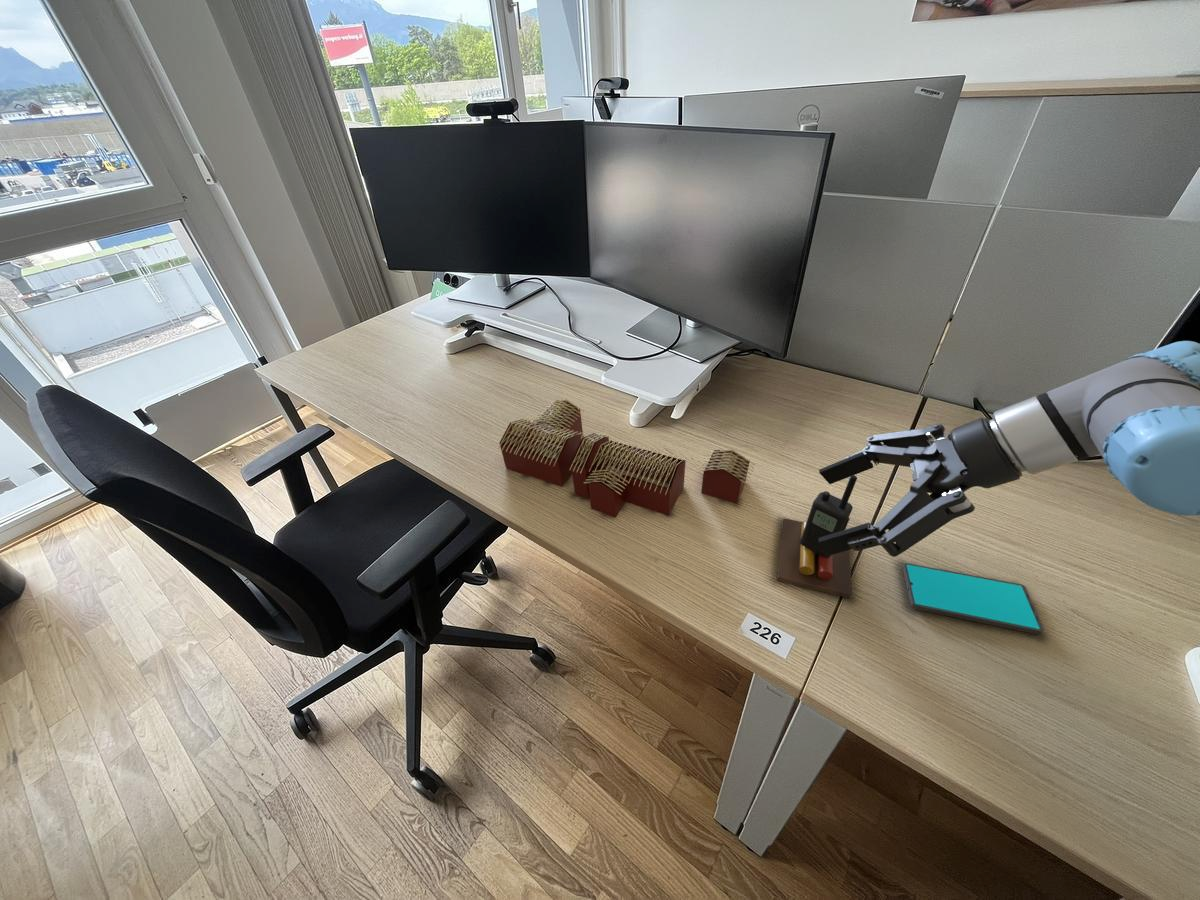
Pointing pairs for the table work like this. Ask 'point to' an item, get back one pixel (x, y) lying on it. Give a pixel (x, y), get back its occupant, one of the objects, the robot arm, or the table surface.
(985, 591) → the smartphone
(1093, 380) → the robot arm
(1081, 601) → the table surface
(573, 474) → the toy houses
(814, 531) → the walkie-talkie
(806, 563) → the rod rack
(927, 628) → the table surface
